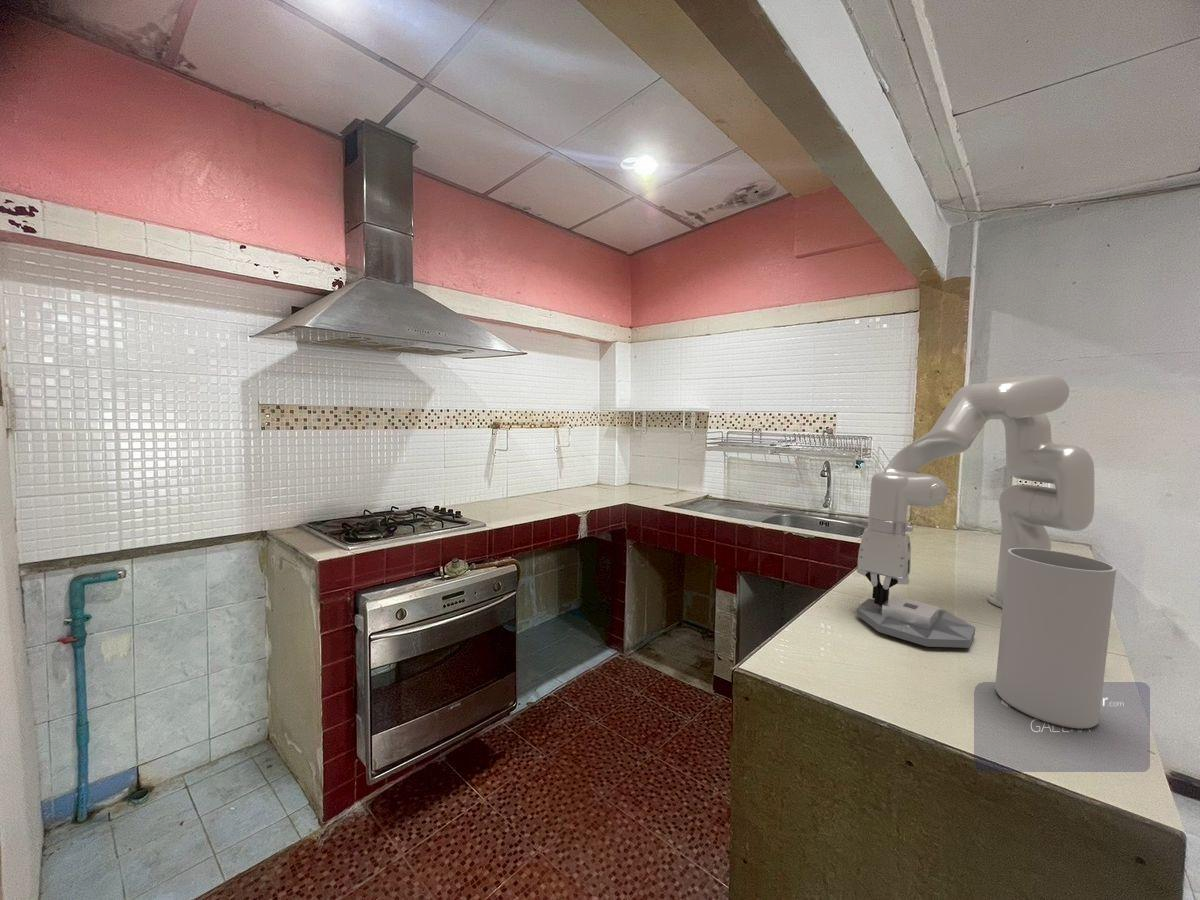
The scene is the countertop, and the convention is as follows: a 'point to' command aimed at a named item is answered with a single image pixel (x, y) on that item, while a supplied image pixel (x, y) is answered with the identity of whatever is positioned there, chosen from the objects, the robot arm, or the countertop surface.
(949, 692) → the countertop surface
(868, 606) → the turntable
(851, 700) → the countertop surface
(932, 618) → the cover
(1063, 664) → the cylinder vase
